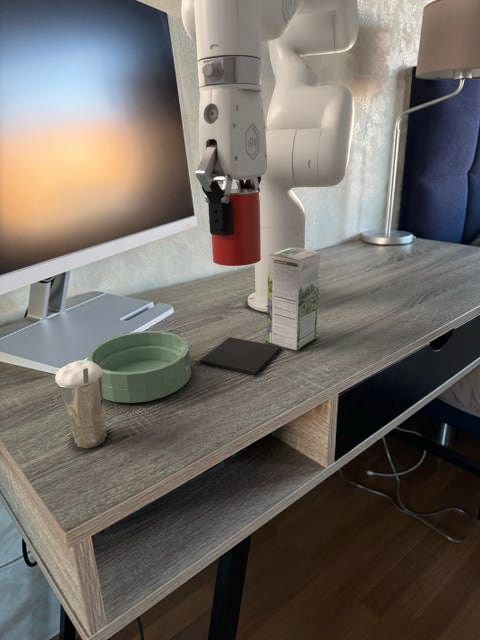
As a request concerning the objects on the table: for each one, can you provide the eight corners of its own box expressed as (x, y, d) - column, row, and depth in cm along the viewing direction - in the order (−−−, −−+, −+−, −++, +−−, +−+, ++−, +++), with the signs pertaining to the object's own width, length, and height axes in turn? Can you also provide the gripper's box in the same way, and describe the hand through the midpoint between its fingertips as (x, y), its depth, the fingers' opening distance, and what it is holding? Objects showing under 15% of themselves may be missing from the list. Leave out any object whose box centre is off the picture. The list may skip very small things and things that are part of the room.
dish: (136, 352, 69) (133, 325, 68) (209, 368, 63) (207, 339, 62) (71, 392, 58) (65, 361, 57) (151, 416, 53) (146, 383, 51)
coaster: (229, 339, 72) (229, 337, 72) (280, 349, 68) (280, 346, 68) (200, 363, 65) (199, 360, 65) (255, 375, 61) (255, 372, 61)
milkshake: (79, 462, 45) (61, 375, 42) (64, 437, 49) (46, 356, 46) (121, 445, 48) (108, 361, 44) (104, 422, 52) (90, 344, 48)
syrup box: (286, 331, 75) (287, 246, 69) (317, 339, 71) (320, 250, 66) (266, 342, 71) (265, 253, 65) (298, 352, 67) (299, 258, 62)
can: (227, 253, 65) (224, 188, 62) (268, 256, 62) (267, 188, 59) (203, 263, 60) (199, 192, 56) (247, 267, 57) (245, 193, 54)
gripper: (220, 66, 44) (228, 244, 51) (286, 83, 58) (286, 220, 65) (160, 74, 48) (174, 240, 54) (236, 88, 62) (240, 218, 68)
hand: (235, 228), depth 60 cm, fingers closed on can, 6 cm apart
